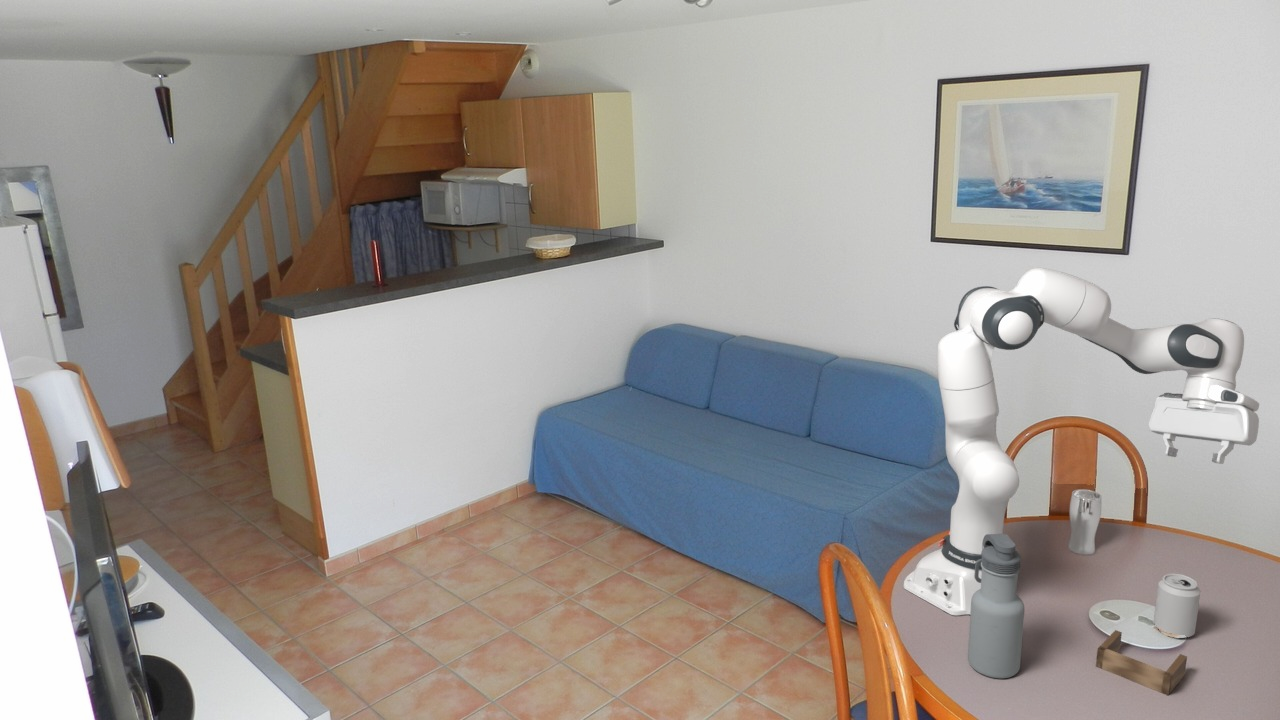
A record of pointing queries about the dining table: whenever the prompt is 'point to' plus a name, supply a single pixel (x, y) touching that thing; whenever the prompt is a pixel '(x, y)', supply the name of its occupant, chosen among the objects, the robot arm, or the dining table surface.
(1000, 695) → the dining table surface
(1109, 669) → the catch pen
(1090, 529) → the beer glass
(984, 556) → the water bottle
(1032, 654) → the dining table surface
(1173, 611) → the can
